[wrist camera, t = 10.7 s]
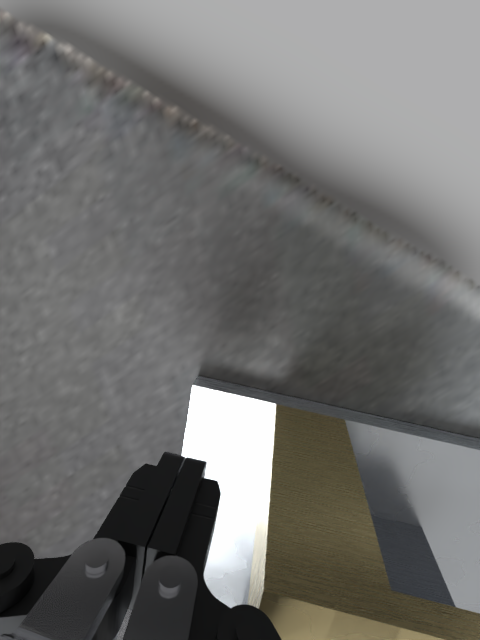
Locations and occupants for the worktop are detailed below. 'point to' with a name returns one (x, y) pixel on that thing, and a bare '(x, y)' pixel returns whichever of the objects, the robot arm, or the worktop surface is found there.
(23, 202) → the worktop surface
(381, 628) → the block
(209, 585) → the clip base
